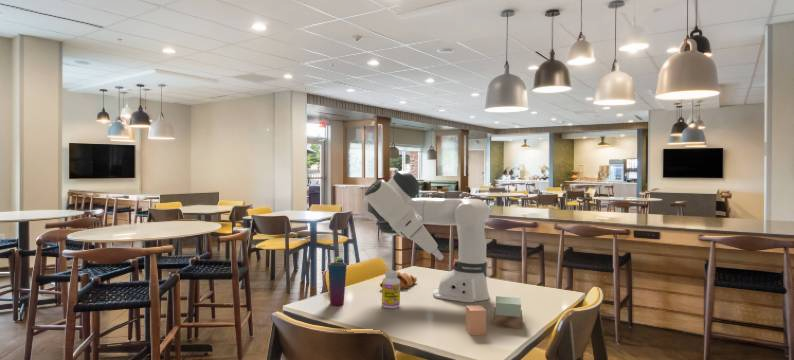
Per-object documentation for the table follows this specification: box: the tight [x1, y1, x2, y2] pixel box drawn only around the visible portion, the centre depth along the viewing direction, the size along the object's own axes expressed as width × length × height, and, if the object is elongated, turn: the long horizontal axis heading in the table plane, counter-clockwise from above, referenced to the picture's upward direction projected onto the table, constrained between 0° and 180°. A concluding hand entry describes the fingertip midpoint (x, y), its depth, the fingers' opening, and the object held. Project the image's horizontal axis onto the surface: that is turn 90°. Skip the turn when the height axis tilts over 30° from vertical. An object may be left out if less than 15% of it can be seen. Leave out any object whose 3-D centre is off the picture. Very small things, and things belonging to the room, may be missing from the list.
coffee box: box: [334, 256, 344, 263], centre depth 188 cm, size 8×3×13 cm, turn 15°
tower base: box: [493, 306, 524, 330], centre depth 149 cm, size 9×9×4 cm
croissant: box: [379, 271, 418, 290], centre depth 194 cm, size 21×10×8 cm, turn 134°
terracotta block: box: [465, 305, 487, 336], centre depth 140 cm, size 5×5×8 cm
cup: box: [327, 261, 348, 307], centre depth 167 cm, size 7×7×15 cm
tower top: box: [494, 295, 522, 317], centre depth 149 cm, size 8×8×4 cm
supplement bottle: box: [381, 269, 401, 309], centre depth 165 cm, size 7×7×13 cm
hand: (438, 255), depth 138 cm, fingers open, 8 cm apart
